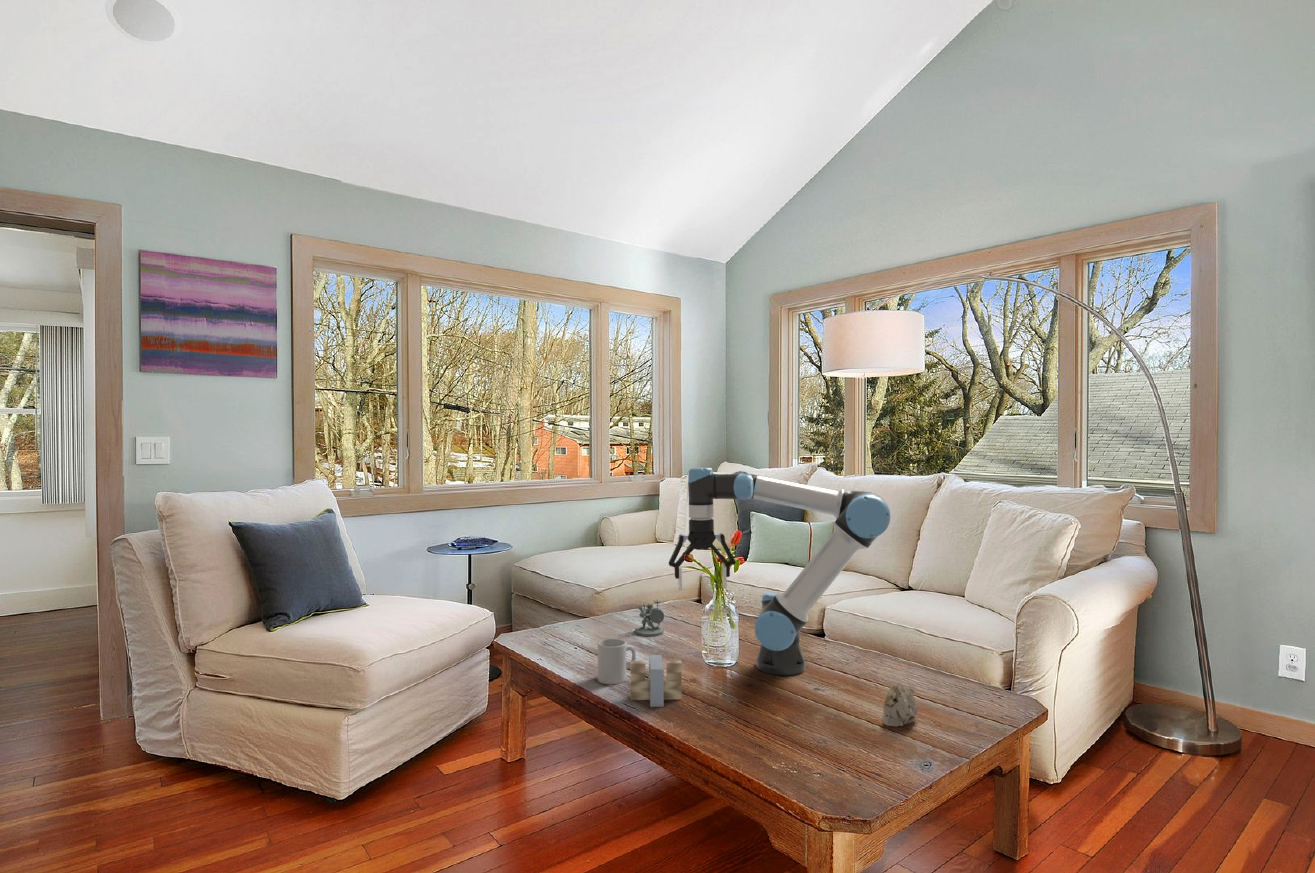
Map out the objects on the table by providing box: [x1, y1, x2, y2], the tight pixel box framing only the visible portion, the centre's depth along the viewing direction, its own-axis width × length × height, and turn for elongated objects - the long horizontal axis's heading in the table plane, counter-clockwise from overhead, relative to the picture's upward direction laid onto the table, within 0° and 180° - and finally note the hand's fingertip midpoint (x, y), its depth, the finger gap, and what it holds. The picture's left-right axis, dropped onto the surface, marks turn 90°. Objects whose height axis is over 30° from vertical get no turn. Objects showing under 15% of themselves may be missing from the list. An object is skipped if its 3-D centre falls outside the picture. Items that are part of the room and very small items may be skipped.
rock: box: [882, 684, 919, 727], centre depth 176 cm, size 12×7×10 cm, turn 134°
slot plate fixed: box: [630, 660, 683, 701], centre depth 190 cm, size 14×2×10 cm, turn 92°
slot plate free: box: [648, 654, 665, 708], centre depth 190 cm, size 12×4×10 cm, turn 3°
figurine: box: [634, 598, 665, 638], centre depth 254 cm, size 11×11×12 cm
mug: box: [597, 638, 637, 685], centre depth 206 cm, size 12×8×11 cm
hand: (702, 588), depth 209 cm, fingers open, 13 cm apart
